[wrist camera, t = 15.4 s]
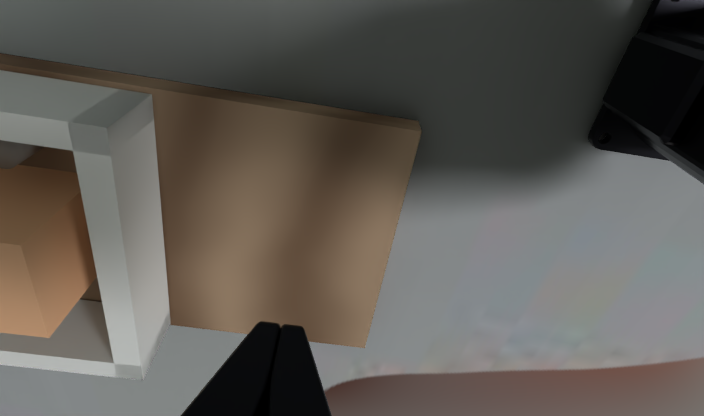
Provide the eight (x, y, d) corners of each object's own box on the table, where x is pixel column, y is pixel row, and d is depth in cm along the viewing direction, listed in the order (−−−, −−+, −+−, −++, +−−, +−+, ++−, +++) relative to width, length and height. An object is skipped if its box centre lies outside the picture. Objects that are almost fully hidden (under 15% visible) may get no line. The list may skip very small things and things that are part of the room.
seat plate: (418, 120, 18) (428, 152, 16) (364, 331, 25) (365, 378, 22) (-68, 42, 17) (-150, 61, 14) (14, 288, 24) (-31, 333, 21)
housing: (151, 94, 17) (106, 127, 14) (170, 323, 23) (143, 380, 20) (-70, 58, 16) (-168, 86, 13) (14, 304, 22) (-38, 360, 20)
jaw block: (97, 175, 19) (20, 245, 14) (112, 257, 21) (49, 338, 17) (-12, 160, 18) (-125, 227, 14) (15, 245, 21) (-75, 324, 16)
